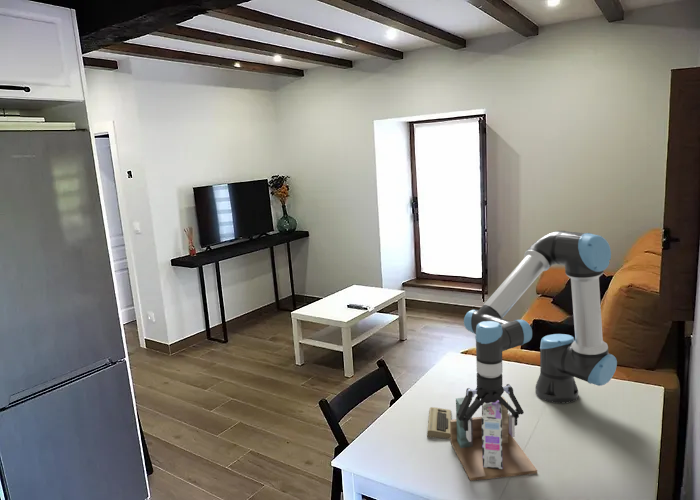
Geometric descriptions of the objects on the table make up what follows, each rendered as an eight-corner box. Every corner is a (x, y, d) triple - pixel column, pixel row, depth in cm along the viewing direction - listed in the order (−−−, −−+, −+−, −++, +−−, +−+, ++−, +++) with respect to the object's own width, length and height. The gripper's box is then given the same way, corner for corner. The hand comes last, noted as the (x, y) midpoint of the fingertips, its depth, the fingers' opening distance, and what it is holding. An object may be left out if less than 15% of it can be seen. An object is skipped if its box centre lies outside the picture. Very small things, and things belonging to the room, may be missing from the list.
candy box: (503, 470, 147) (502, 418, 144) (482, 468, 148) (480, 417, 145) (502, 443, 160) (501, 396, 157) (483, 442, 161) (481, 394, 158)
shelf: (510, 436, 165) (509, 391, 162) (537, 473, 146) (537, 422, 143) (450, 442, 164) (449, 397, 161) (470, 480, 144) (469, 430, 142)
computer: (451, 439, 166) (451, 430, 166) (427, 438, 168) (426, 429, 167) (451, 415, 182) (451, 407, 181) (429, 414, 183) (428, 406, 183)
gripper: (524, 363, 155) (524, 426, 159) (445, 371, 153) (447, 434, 157) (535, 374, 148) (534, 439, 152) (452, 382, 146) (454, 448, 150)
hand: (490, 437), depth 155 cm, fingers open, 13 cm apart
